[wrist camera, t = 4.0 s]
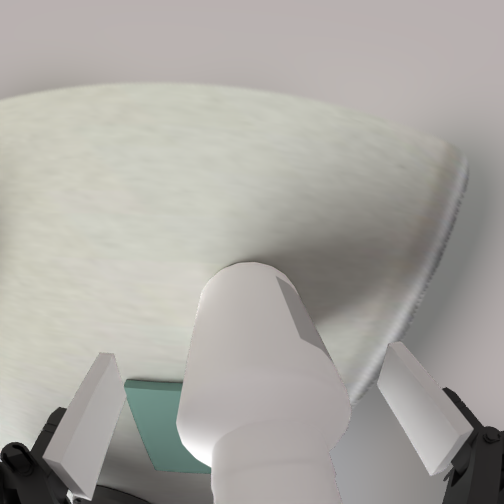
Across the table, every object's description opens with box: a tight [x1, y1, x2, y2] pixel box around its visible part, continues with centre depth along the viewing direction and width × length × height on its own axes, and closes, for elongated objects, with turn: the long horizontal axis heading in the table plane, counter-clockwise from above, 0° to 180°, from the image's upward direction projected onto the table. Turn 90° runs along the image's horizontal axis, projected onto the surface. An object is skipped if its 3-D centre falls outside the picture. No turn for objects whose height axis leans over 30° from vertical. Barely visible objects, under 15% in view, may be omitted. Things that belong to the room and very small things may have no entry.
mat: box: [124, 380, 211, 474], centre depth 23 cm, size 13×13×1 cm
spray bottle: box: [176, 262, 352, 504], centre depth 12 cm, size 7×7×18 cm
